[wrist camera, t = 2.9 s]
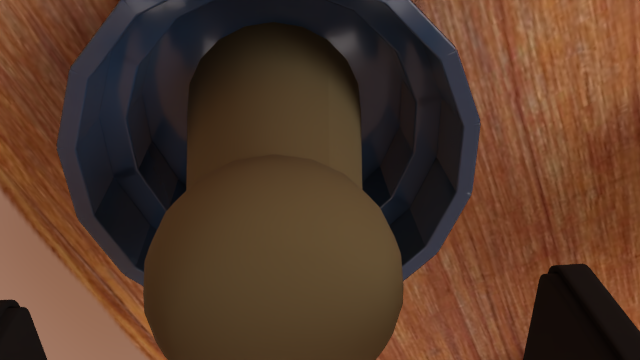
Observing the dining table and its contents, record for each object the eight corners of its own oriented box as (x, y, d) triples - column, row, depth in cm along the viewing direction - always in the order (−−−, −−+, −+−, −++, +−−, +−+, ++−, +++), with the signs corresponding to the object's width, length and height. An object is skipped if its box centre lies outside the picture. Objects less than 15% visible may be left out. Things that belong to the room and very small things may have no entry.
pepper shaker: (259, 211, 21) (247, 489, 12) (149, 91, 19) (19, 325, 9) (392, 125, 20) (500, 363, 10) (294, -17, 17) (318, 126, 8)
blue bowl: (143, 245, 22) (111, 337, 18) (71, -62, 17) (0, -37, 12) (423, 226, 23) (458, 311, 18) (446, -78, 17) (503, -59, 13)
